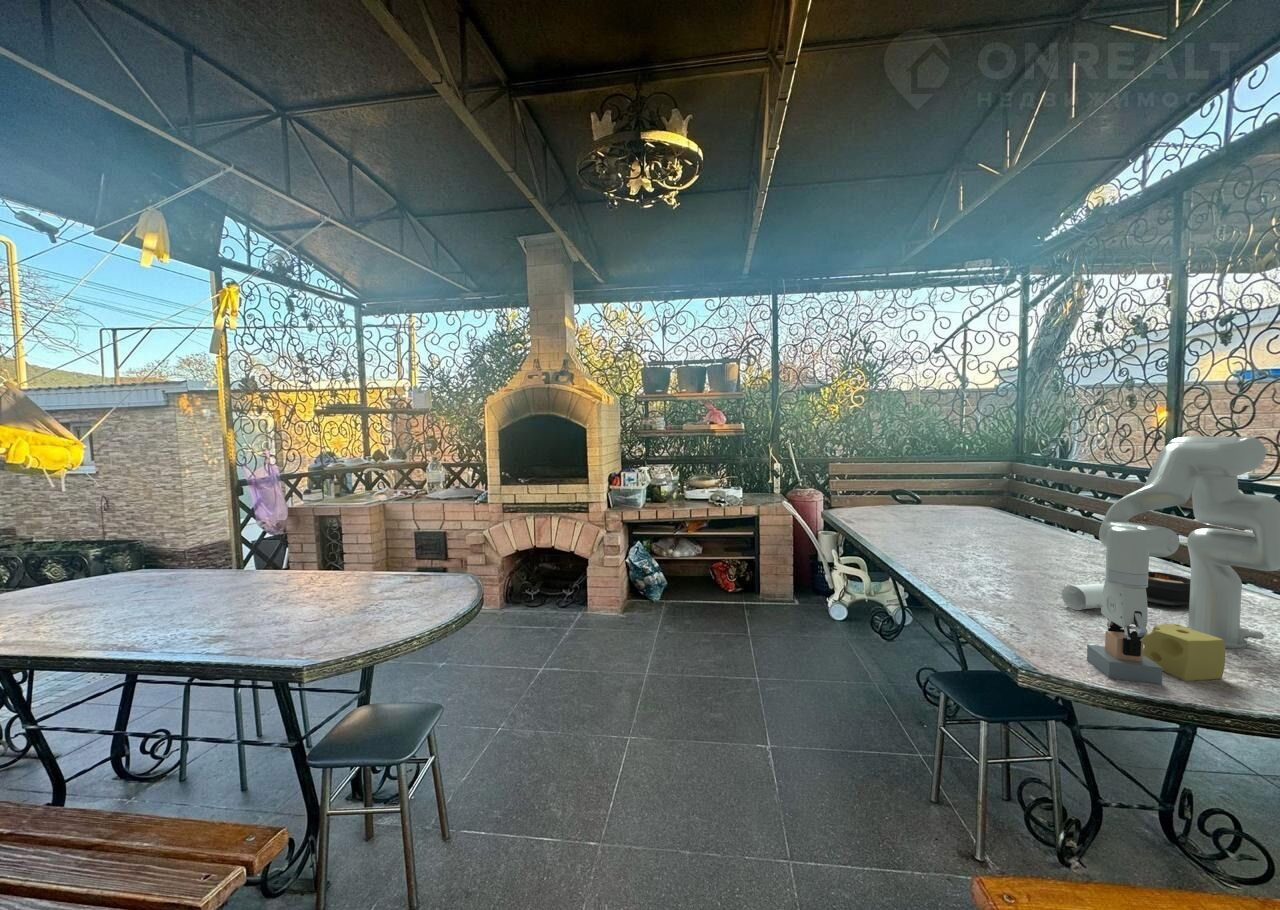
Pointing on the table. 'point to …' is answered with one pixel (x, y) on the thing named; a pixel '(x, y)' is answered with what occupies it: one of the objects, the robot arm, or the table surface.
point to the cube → (1119, 646)
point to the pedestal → (1124, 666)
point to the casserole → (1168, 589)
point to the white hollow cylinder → (1083, 596)
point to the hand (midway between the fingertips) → (1123, 648)
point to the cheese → (1185, 652)
